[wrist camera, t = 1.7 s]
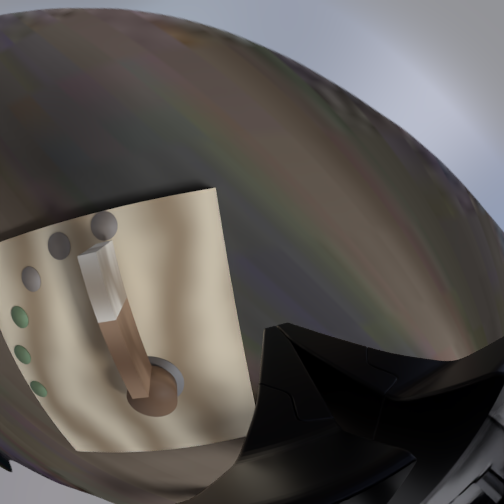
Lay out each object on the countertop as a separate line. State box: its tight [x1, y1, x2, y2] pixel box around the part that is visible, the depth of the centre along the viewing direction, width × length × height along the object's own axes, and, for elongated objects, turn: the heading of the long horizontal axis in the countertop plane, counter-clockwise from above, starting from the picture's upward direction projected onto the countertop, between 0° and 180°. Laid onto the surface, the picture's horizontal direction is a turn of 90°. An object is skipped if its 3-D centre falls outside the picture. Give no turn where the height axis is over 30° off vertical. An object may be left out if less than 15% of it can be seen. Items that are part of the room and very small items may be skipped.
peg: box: [77, 240, 178, 417], centre depth 16 cm, size 14×4×4 cm, turn 8°
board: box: [0, 188, 255, 452], centre depth 19 cm, size 22×24×1 cm
